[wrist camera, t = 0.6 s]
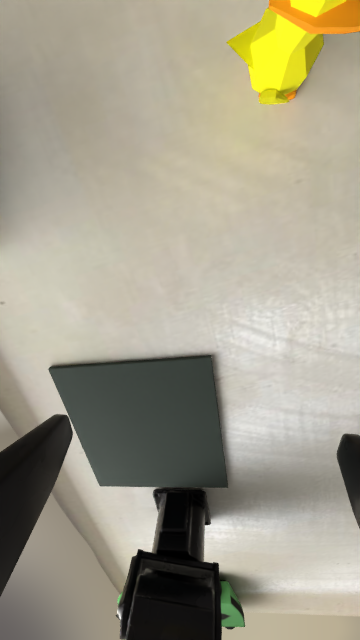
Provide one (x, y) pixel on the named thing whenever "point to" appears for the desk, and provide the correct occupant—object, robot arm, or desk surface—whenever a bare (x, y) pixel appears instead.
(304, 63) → the toy figure
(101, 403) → the mat
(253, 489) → the desk surface
